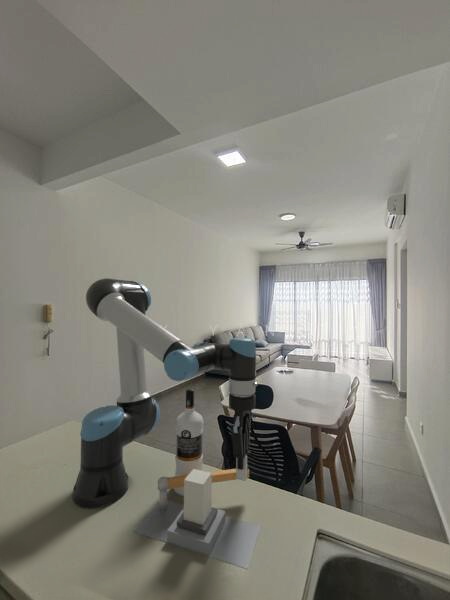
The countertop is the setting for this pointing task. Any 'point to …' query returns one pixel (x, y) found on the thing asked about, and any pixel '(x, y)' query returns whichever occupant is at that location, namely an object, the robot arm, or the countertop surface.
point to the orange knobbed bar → (178, 481)
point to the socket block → (216, 543)
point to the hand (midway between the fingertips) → (241, 478)
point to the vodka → (188, 440)
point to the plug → (197, 502)
